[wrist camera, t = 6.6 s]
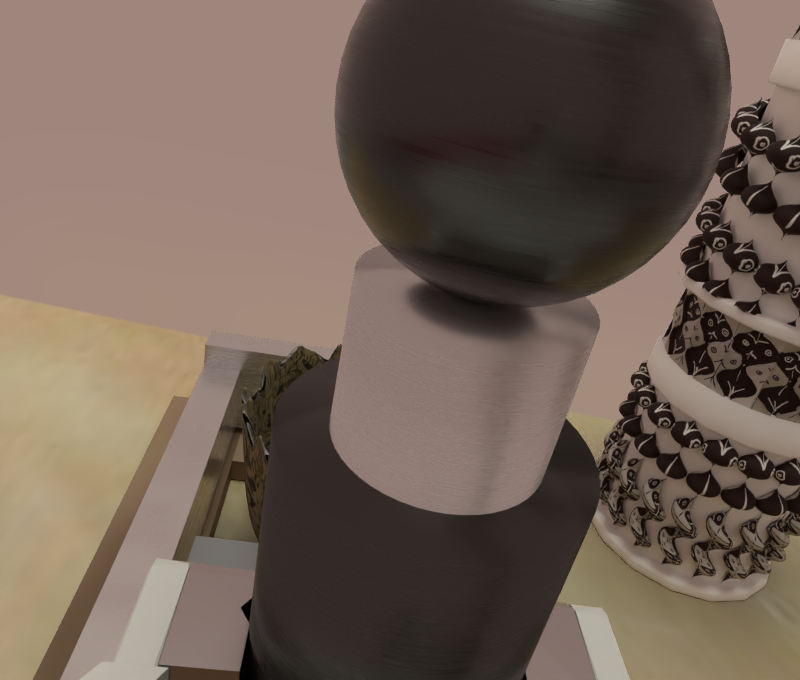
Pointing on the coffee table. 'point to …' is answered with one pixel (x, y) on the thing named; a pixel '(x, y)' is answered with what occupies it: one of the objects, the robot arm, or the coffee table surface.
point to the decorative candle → (721, 381)
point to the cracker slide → (449, 338)
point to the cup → (268, 420)
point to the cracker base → (96, 575)
